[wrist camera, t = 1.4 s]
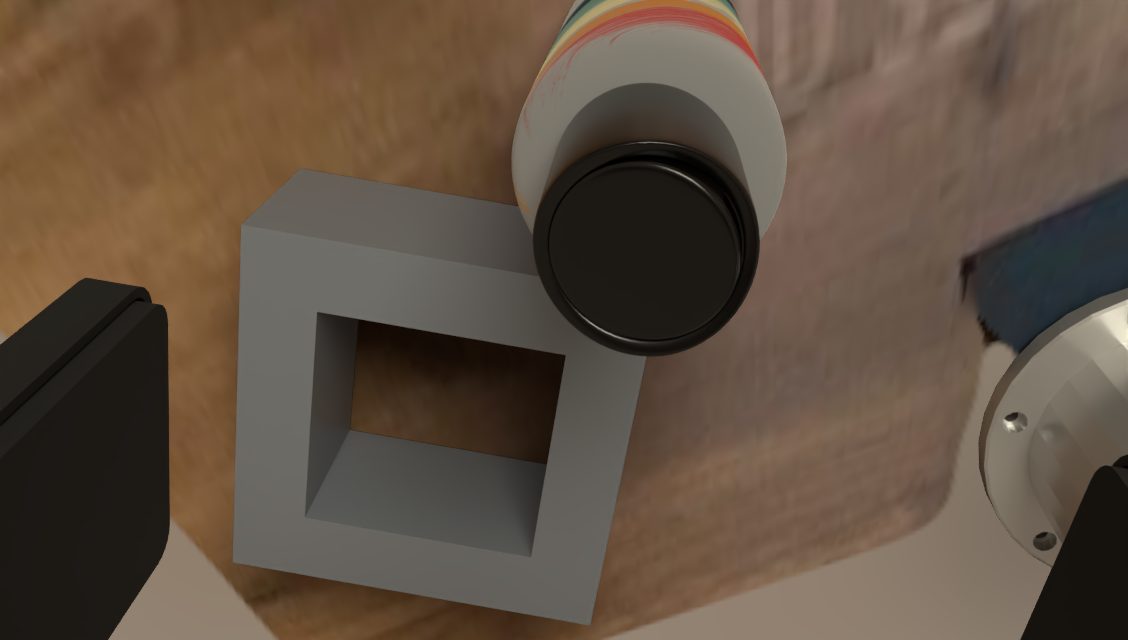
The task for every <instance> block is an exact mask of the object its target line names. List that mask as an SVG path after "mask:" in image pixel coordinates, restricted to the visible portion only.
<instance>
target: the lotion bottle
mask: <svg viewBox="0 0 1128 640" xmlns="http://www.w3.org/2000/svg"><path fill="white" fill-rule="evenodd" d="M511 166H512V179H513V185H514V190H515V195H516V199H517V202H518V206H519V208H520V211H521V213H522V216H523V218H524V220H525V222H526V224H527V226H528V228H529V230H530V232H531V233H532V235H533V254H534V260H535V264H536V268H537V272H538V275H539V277H540V280H541V282H542V285H543V287H544V289H545V291H546V293H547V294H548V296H549V298H550V299H551V301H552V302H553V304H554V305H555V307H556V308H557V309H558V311H559V312H560V313H561V314H562V315H563V317H564V318H565V319H566V320H567V321H568V322H569V323H570V324H571V325H572V326H574V327H575V328H576V329H577V330H578V331H580V332H581V333H582V334H584V335H585V336H587V337H588V338H589V339H591V340H593V341H595V342H596V343H598V344H600V345H602V346H604V347H607V348H609V349H612V350H615V351H617V352H621V353H625V354H629V355H636V356H649V357H653V356H664V355H670V354H675V353H678V352H682V351H685V350H687V349H690V348H692V347H695V346H697V345H698V344H700V343H702V342H704V341H705V340H707V339H709V338H710V337H712V336H713V335H714V334H715V333H717V332H718V331H719V330H720V329H721V328H722V327H723V326H724V325H725V324H726V323H727V322H728V321H729V320H730V319H731V318H732V317H733V316H734V314H735V313H736V312H737V310H738V309H739V307H740V306H741V304H742V303H743V301H744V299H745V297H746V296H747V294H748V292H749V289H750V287H751V285H752V282H753V279H754V276H755V273H756V269H757V264H758V258H759V247H760V240H761V239H762V237H763V236H764V234H765V233H766V231H767V229H768V228H769V226H770V224H771V222H772V220H773V218H774V216H775V214H776V212H777V209H778V206H779V203H780V200H781V197H782V192H783V188H784V184H785V177H786V166H787V154H786V142H785V137H784V131H783V127H782V123H781V120H780V116H779V113H778V110H777V107H776V105H775V102H774V100H773V97H772V95H771V92H770V90H769V88H768V85H767V83H766V80H765V78H764V76H763V73H762V71H761V69H760V67H759V64H758V62H757V60H756V57H755V55H754V53H753V50H752V48H751V46H750V43H749V41H748V39H747V37H746V34H745V32H744V30H743V27H742V25H741V23H740V20H739V18H738V16H737V13H736V11H735V9H734V7H733V5H732V3H731V1H730V0H575V2H574V4H573V6H572V7H571V9H570V11H569V13H568V15H567V17H566V19H565V21H564V23H563V25H562V27H561V29H560V31H559V34H558V36H557V38H556V40H555V42H554V44H553V46H552V48H551V50H550V52H549V54H548V56H547V58H546V60H545V62H544V64H543V66H542V68H541V70H540V72H539V74H538V76H537V78H536V80H535V82H534V84H533V87H532V89H531V91H530V93H529V95H528V97H527V100H526V102H525V104H524V106H523V109H522V112H521V114H520V117H519V120H518V123H517V127H516V131H515V135H514V139H513V147H512V165H511Z"/></svg>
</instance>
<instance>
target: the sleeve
mask: <svg viewBox="0 0 1128 640" xmlns="http://www.w3.org/2000/svg"><path fill="white" fill-rule="evenodd" d="M359 319H361V320H367V321H373V322H379V323H384V324H390V325H396V326H401V327H407V328H413V329H419V330H424V331H430V332H436V333H442V334H447V335H453V336H459V337H465V338H470V339H476V340H482V341H487V342H493V343H499V344H505V345H510V346H516V347H522V348H528V349H533V350H539V351H545V352H550V353H556V354H562V355H566V358H565V364H564V370H563V375H562V381H561V387H560V393H559V398H558V404H557V410H556V416H555V421H554V427H553V433H552V439H551V444H550V450H549V456H548V462H547V464H541V463H536V462H530V461H524V460H519V459H513V458H507V457H501V456H496V455H490V454H484V453H479V452H473V451H467V450H462V449H456V448H450V447H444V446H439V445H433V444H427V443H422V442H416V441H410V440H404V439H399V438H393V437H387V436H382V435H376V434H370V433H365V432H359V431H353V430H350V423H351V410H352V397H353V384H354V372H355V359H356V346H357V334H358V321H359ZM646 357H647V356H636V355H629V354H625V353H621V352H617V351H615V350H612V349H609V348H607V347H604V346H602V345H600V344H598V343H596V342H595V341H593V340H591V339H589V338H588V337H587V336H585V335H584V334H582V333H581V332H580V331H578V330H577V329H576V328H575V327H574V326H572V325H571V324H570V323H569V322H568V321H567V320H566V319H565V318H564V317H563V315H562V314H561V313H560V312H559V311H558V309H557V308H556V307H555V305H554V304H553V302H552V301H551V299H550V298H549V296H548V294H547V293H546V291H545V289H544V287H543V285H542V282H541V280H540V277H539V275H538V272H537V268H536V264H535V260H534V254H533V235H532V233H531V232H530V230H529V228H528V226H527V224H526V222H525V220H524V218H523V216H522V213H521V211H520V208H519V206H513V205H507V204H502V203H496V202H490V201H484V200H479V199H473V198H467V197H461V196H456V195H450V194H444V193H438V192H432V191H427V190H421V189H415V188H409V187H404V186H398V185H392V184H386V183H381V182H375V181H369V180H363V179H357V178H352V177H346V176H340V175H334V174H329V173H323V172H317V171H311V170H306V169H300V170H299V171H298V172H297V173H296V174H295V175H294V176H293V177H291V178H290V179H289V180H288V181H287V182H286V183H285V184H284V185H283V186H282V187H281V188H280V189H279V190H278V191H277V192H276V193H274V194H273V195H272V196H271V197H270V198H269V199H268V200H267V201H266V202H265V203H264V204H263V205H262V206H261V207H260V208H259V209H257V210H256V211H255V212H254V213H253V214H252V215H251V216H250V217H249V218H248V219H247V220H246V221H245V222H244V223H243V224H242V225H241V256H240V296H239V336H238V375H237V415H236V454H235V494H234V534H233V562H234V563H239V564H245V565H251V566H256V567H262V568H268V569H273V570H279V571H285V572H290V573H296V574H302V575H307V576H313V577H318V578H324V579H330V580H335V581H341V582H347V583H352V584H358V585H364V586H369V587H375V588H381V589H386V590H392V591H398V592H403V593H409V594H415V595H420V596H426V597H432V598H437V599H443V600H449V601H454V602H460V603H466V604H471V605H477V606H483V607H488V608H494V609H500V610H505V611H511V612H517V613H522V614H528V615H534V616H539V617H545V618H551V619H556V620H562V621H568V622H573V623H579V624H585V625H590V623H591V619H592V614H593V609H594V604H595V599H596V595H597V590H598V585H599V580H600V576H601V571H602V566H603V561H604V557H605V552H606V547H607V542H608V538H609V533H610V528H611V523H612V519H613V514H614V509H615V504H616V500H617V495H618V490H619V485H620V481H621V476H622V471H623V466H624V462H625V457H626V452H627V447H628V443H629V438H630V433H631V428H632V424H633V419H634V414H635V409H636V405H637V400H638V395H639V390H640V385H641V381H642V376H643V371H644V366H645V362H646Z"/></svg>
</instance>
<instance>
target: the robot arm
mask: <svg viewBox="0 0 1128 640" xmlns="http://www.w3.org/2000/svg"><path fill="white" fill-rule="evenodd" d="M1011 413H1012V414H1011ZM1009 414H1010V415H1009ZM979 469H980V472H981V476H982V480H983V483H984V487H985V491H986V494H987V496H988V498H989V500H990V502H991V504H992V506H993V508H994V510H995V512H996V515H997V517H998V518H999V520H1000V521H1001V523H1002V524H1003V525H1004V527H1005V528H1006V530H1007V531H1008V532H1009V534H1010V535H1011V536H1012V538H1013V539H1014V540H1015V541H1016V542H1017V543H1018V544H1019V545H1020V546H1021V547H1022V548H1024V549H1025V550H1026V551H1027V552H1028V553H1029V554H1031V555H1032V556H1033V557H1035V558H1037V559H1038V560H1040V561H1042V562H1043V563H1045V564H1047V565H1049V566H1050V567H1052V569H1051V572H1050V574H1049V576H1048V578H1047V581H1046V583H1045V585H1044V587H1043V590H1042V592H1041V594H1040V596H1039V599H1038V601H1037V603H1036V606H1035V608H1034V610H1033V612H1032V615H1031V617H1030V619H1029V621H1028V624H1027V626H1026V629H1025V631H1024V633H1023V635H1022V637H1021V640H1128V288H1127V289H1124V290H1121V291H1118V292H1115V293H1112V294H1109V295H1106V296H1103V297H1100V298H1098V299H1096V300H1094V301H1092V302H1090V303H1088V304H1086V305H1084V306H1082V307H1080V308H1078V309H1076V310H1074V311H1072V312H1070V313H1068V314H1067V315H1065V316H1064V317H1062V318H1061V319H1060V320H1058V321H1057V322H1056V323H1054V324H1053V325H1051V326H1050V327H1049V328H1047V329H1046V330H1045V331H1043V332H1042V333H1041V334H1039V335H1038V336H1037V337H1036V338H1035V339H1034V340H1033V341H1032V342H1031V343H1030V344H1029V345H1028V346H1027V347H1026V348H1025V349H1024V350H1023V351H1022V352H1021V353H1020V354H1019V355H1018V356H1017V357H1016V358H1015V359H1014V361H1013V362H1012V364H1011V365H1010V366H1009V368H1008V369H1007V371H1006V373H1005V374H1004V375H1003V377H1002V378H1001V380H1000V381H999V383H998V384H997V386H996V387H995V390H994V392H993V394H992V397H991V399H990V401H989V404H988V406H987V408H986V411H985V413H984V417H983V422H982V427H981V432H980V437H979ZM169 526H170V502H169V389H168V318H167V312H166V309H165V308H164V307H163V305H159V304H153V303H152V300H151V297H150V294H149V292H148V291H147V290H146V289H145V288H144V287H138V286H132V285H126V284H120V283H114V282H108V281H102V280H97V279H91V278H84V279H82V280H80V281H79V282H77V283H76V284H75V285H74V286H73V287H71V288H70V289H69V290H68V291H66V292H65V293H64V294H63V295H61V296H60V297H59V298H58V299H56V300H55V301H54V302H53V303H51V304H50V305H49V306H48V307H46V308H45V309H44V310H43V311H41V312H40V313H39V314H38V315H37V316H35V317H34V318H33V319H32V320H30V321H29V322H28V323H27V324H25V325H24V326H23V327H22V328H20V329H19V330H18V331H17V332H15V333H14V334H13V335H12V336H10V337H9V338H8V339H7V340H6V341H4V342H3V343H2V344H1V345H0V640H108V639H109V637H110V636H111V634H112V633H113V631H114V630H115V628H116V627H117V625H118V624H119V622H120V621H121V619H122V617H123V616H124V615H125V613H126V612H127V610H128V609H129V607H130V606H131V604H132V602H133V601H134V600H135V598H136V597H137V595H138V593H139V592H140V590H141V589H142V587H143V586H144V584H145V583H146V581H147V580H148V578H149V577H150V575H151V574H152V572H153V571H154V569H155V568H156V566H157V565H158V563H159V561H160V559H161V558H162V555H163V553H164V550H165V547H166V544H167V540H168V535H169Z"/></svg>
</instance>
